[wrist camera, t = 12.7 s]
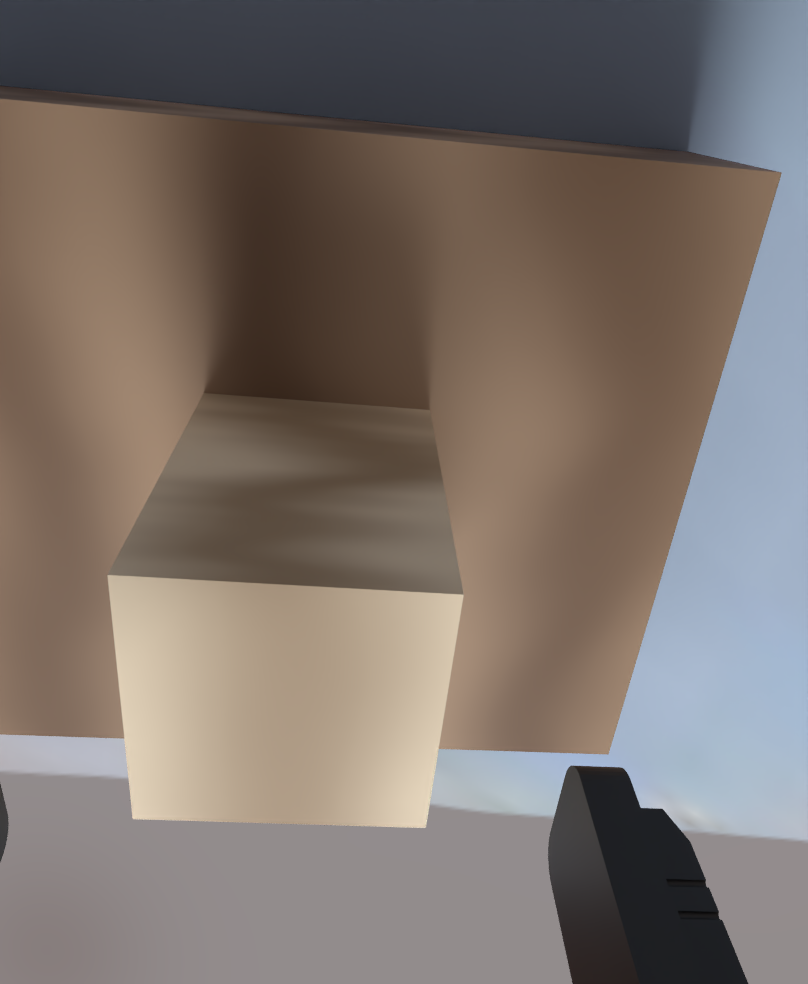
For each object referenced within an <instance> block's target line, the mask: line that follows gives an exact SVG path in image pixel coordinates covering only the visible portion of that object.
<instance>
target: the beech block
mask: <svg viewBox="0 0 808 984" xmlns="http://www.w3.org/2000/svg"><path fill="white" fill-rule="evenodd" d="M107 576H108V585H109V595H110V605H111V614H112V624H113V633H114V643H115V653H116V662H117V672H118V681H119V691H120V701H121V710H122V720H123V729H124V739H125V749H126V758H127V768H128V777H129V787H130V797H131V806H132V815H133V819H150V820H185V821H216V822H248V823H249V822H250V823H281V824H314V825H315V824H317V825H347V826H380V827H413V828H426V823H427V817H428V811H429V805H430V798H431V792H432V786H433V780H434V774H435V768H436V762H437V756H438V749H439V743H440V737H441V731H442V725H443V719H444V713H445V707H446V700H447V694H448V688H449V682H450V676H451V670H452V664H453V657H454V651H455V645H456V639H457V633H458V627H459V621H460V615H461V608H462V602H463V596H464V593H463V588H462V583H461V577H460V572H459V566H458V561H457V555H456V550H455V544H454V539H453V534H452V528H451V523H450V517H449V512H448V506H447V501H446V495H445V490H444V485H443V479H442V474H441V468H440V463H439V457H438V452H437V446H436V441H435V436H434V430H433V425H432V419H431V414H430V410H423V409H409V408H396V407H383V406H370V405H356V404H343V403H330V402H316V401H303V400H290V399H276V398H263V397H250V396H236V395H223V394H210V393H203V395H202V397H201V399H200V401H199V403H198V405H197V407H196V409H195V410H194V412H193V414H192V416H191V418H190V420H189V422H188V424H187V426H186V427H185V429H184V431H183V433H182V435H181V437H180V439H179V441H178V443H177V444H176V446H175V448H174V450H173V452H172V454H171V456H170V458H169V460H168V461H167V463H166V465H165V467H164V469H163V471H162V473H161V475H160V477H159V478H158V480H157V482H156V484H155V486H154V488H153V490H152V492H151V494H150V495H149V497H148V499H147V501H146V503H145V505H144V507H143V509H142V511H141V512H140V514H139V516H138V518H137V520H136V522H135V524H134V526H133V528H132V529H131V531H130V533H129V535H128V537H127V539H126V541H125V543H124V545H123V546H122V548H121V550H120V552H119V554H118V556H117V558H116V560H115V562H114V563H113V565H112V567H111V569H110V571H109V573H108V575H107Z"/></svg>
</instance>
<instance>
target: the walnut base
mask: <svg viewBox="0 0 808 984" xmlns="http://www.w3.org/2000/svg"><path fill="white" fill-rule="evenodd" d="M780 177H781V172H776V171H772V170H767V169H763V168H758V167H754V166H749V165H745V164H740V163H736V162H731V161H727V160H723V159H718V158H714V157H709V156H705V155H700V154H696V153H691V152H685V151H674V150H664V149H653V148H643V147H632V146H622V145H612V144H601V143H591V142H580V141H570V140H559V139H549V138H539V137H528V136H518V135H507V134H497V133H486V132H476V131H466V130H455V129H445V128H434V127H424V126H413V125H403V124H393V123H382V122H372V121H361V120H351V119H340V118H330V117H320V116H309V115H299V114H288V113H278V112H267V111H257V110H247V109H236V108H226V107H215V106H205V105H194V104H184V103H174V102H163V101H153V100H142V99H132V98H121V97H111V96H101V95H90V94H80V93H69V92H59V91H48V90H38V89H28V88H17V87H7V86H0V734H6V735H36V736H67V737H97V738H124V729H123V720H122V710H121V701H120V691H119V681H118V672H117V662H116V653H115V643H114V633H113V624H112V614H111V605H110V595H109V585H108V576H107V575H108V573H109V571H110V569H111V567H112V565H113V563H114V562H115V560H116V558H117V556H118V554H119V552H120V550H121V548H122V546H123V545H124V543H125V541H126V539H127V537H128V535H129V533H130V531H131V529H132V528H133V526H134V524H135V522H136V520H137V518H138V516H139V514H140V512H141V511H142V509H143V507H144V505H145V503H146V501H147V499H148V497H149V495H150V494H151V492H152V490H153V488H154V486H155V484H156V482H157V480H158V478H159V477H160V475H161V473H162V471H163V469H164V467H165V465H166V463H167V461H168V460H169V458H170V456H171V454H172V452H173V450H174V448H175V446H176V444H177V443H178V441H179V439H180V437H181V435H182V433H183V431H184V429H185V427H186V426H187V424H188V422H189V420H190V418H191V416H192V414H193V412H194V410H195V409H196V407H197V405H198V403H199V401H200V399H201V397H202V395H203V393H210V394H223V395H236V396H250V397H263V398H276V399H290V400H303V401H316V402H330V403H343V404H356V405H370V406H383V407H396V408H409V409H423V410H430V414H431V419H432V425H433V430H434V436H435V441H436V446H437V452H438V457H439V463H440V468H441V474H442V479H443V485H444V490H445V495H446V501H447V506H448V512H449V517H450V523H451V528H452V534H453V539H454V544H455V550H456V555H457V561H458V566H459V572H460V577H461V583H462V588H463V593H464V596H463V602H462V608H461V615H460V621H459V627H458V633H457V639H456V645H455V651H454V657H453V664H452V670H451V676H450V682H449V688H448V694H447V700H446V707H445V713H444V719H443V725H442V731H441V737H440V743H439V749H462V750H493V751H523V752H554V753H584V754H609V750H610V747H611V744H612V740H613V737H614V734H615V730H616V727H617V724H618V720H619V717H620V714H621V710H622V707H623V703H624V700H625V697H626V693H627V690H628V687H629V683H630V680H631V677H632V673H633V670H634V667H635V663H636V660H637V656H638V653H639V650H640V646H641V643H642V640H643V636H644V633H645V630H646V626H647V623H648V620H649V616H650V613H651V609H652V606H653V603H654V599H655V596H656V593H657V589H658V586H659V583H660V579H661V576H662V573H663V569H664V566H665V562H666V559H667V556H668V552H669V549H670V546H671V542H672V539H673V536H674V532H675V529H676V526H677V522H678V519H679V516H680V512H681V509H682V505H683V502H684V499H685V495H686V492H687V489H688V485H689V482H690V479H691V475H692V472H693V469H694V465H695V462H696V458H697V455H698V452H699V448H700V445H701V442H702V438H703V435H704V432H705V428H706V425H707V422H708V418H709V415H710V411H711V408H712V405H713V401H714V398H715V395H716V391H717V388H718V385H719V381H720V378H721V375H722V371H723V368H724V365H725V361H726V358H727V354H728V351H729V348H730V344H731V341H732V338H733V334H734V331H735V328H736V324H737V321H738V318H739V314H740V311H741V307H742V304H743V301H744V297H745V294H746V291H747V287H748V284H749V281H750V277H751V274H752V271H753V267H754V264H755V260H756V257H757V254H758V250H759V247H760V244H761V240H762V237H763V234H764V230H765V227H766V224H767V220H768V217H769V213H770V210H771V207H772V203H773V200H774V197H775V193H776V190H777V187H778V183H779V180H780Z"/></svg>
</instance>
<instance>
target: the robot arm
mask: <svg viewBox="0 0 808 984" xmlns="http://www.w3.org/2000/svg"><path fill="white" fill-rule="evenodd" d="M7 834H8V814H7V809H6V805H5V801H4V797H3V793H2V789H1V784H0V861H1V859H2V856H3V853H4V849H5V845H6V841H7ZM548 861H549V872H550V880H551V885H552V890H553V894H554V899H555V904H556V908H557V913H558V917H559V922H560V927H561V931H562V936H563V941H564V946H565V950H566V955H567V959H568V964H569V969H570V973H571V978H572V983H573V984H748V982H747V980H746V977H745V975H744V972H743V970H742V968H741V965H740V963H739V960H738V958H737V955H736V953H735V950H734V948H733V945H732V943H731V941H730V938H729V936H728V933H727V931H726V928H725V926H724V923H723V921H722V920H720V919H719V916H718V913H719V911H718V909H717V906H716V904H715V902H714V899H713V897H712V894H711V892H710V889H709V888H707V887H706V883H705V881H706V879H705V877H704V875H703V872H702V870H701V867H700V865H699V862H698V860H697V858H696V855H695V852H694V850H693V848H692V845H691V843H690V841H689V840H688V839H687V838H686V836H685V835H684V834H683V833H682V832H681V830H680V829H679V828H678V827H677V826H676V824H675V823H674V822H673V821H672V820H671V818H670V817H669V816H668V815H667V814H666V813H665V811H664V810H663V809H650V808H640V805H639V802H638V800H637V797H636V794H635V791H634V789H633V786H632V783H631V780H630V778H629V776H628V774H627V772H626V771H625V770H624V769H623V768H620V767H592V766H570V767H569V768H568V770H567V772H566V775H565V779H564V783H563V786H562V790H561V794H560V798H559V802H558V805H557V809H556V813H555V817H554V821H553V825H552V828H551V832H550V837H549V847H548Z"/></svg>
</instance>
